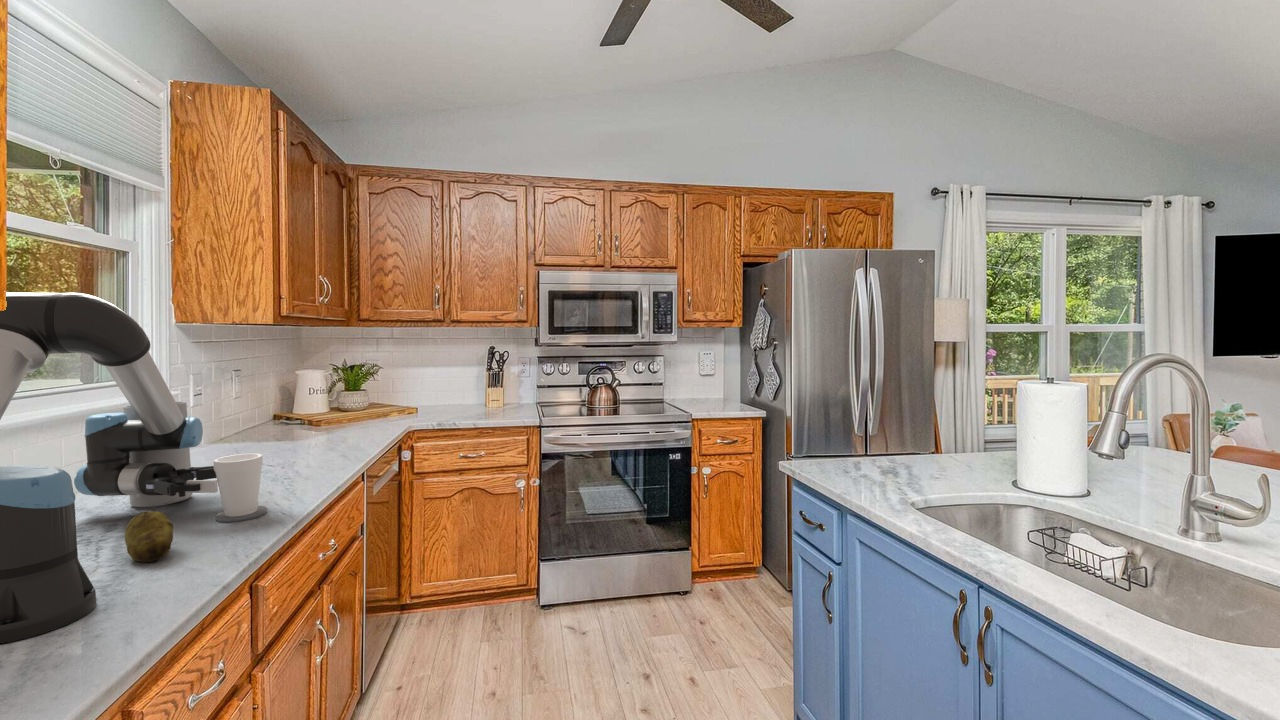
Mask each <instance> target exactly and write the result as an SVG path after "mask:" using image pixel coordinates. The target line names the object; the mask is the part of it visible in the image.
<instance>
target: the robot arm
mask: <svg viewBox="0 0 1280 720" xmlns="http://www.w3.org/2000/svg"><path fill="white" fill-rule="evenodd" d="M5 292H6V301H7V307H6V310H4V311H0V420H1V419H2V417H3V416H4V414H5V412H6V410H7V409H8V406H9V405H10V404H11V401H12V400H13V398H14V396H15V394H16V392H17V391H18V389H19V387H20V385H21V383H22V381H23V379H24V378H25V376H26V374H30V373H33V372H35V371H38V370H39V369H41V368H42V367H43V366H44V364H45V362H46V360H47V359H48V357H49V356H50V355H54V354H56V355H57V354H59V355H60V354H85V355H88V356H90V357H91V359H92V360H93V361H94V362H95V364H97V365H100V366H103V367H105V369H107V371H108V372H109V374H110V376H111V378H112V379H113V380H114V382H115V383H116V385H117V387H118V388H119V390H120V391H121V392H122V394H123V396H124V398H125V399H126V401H127V402H128V404H129V406H131V407H132V408H133V410H134V411H135V413H136V414H137V416H138V417H139V419H140V420H128V418H127V415H126V414H125V413H124V412H107V413H98V414H96V413H95V414H92V415H90V416H87V417H86V419H85V425H84V426H85V427H84V439H85V450H86V459H87V462H86V464H85V465H83V466H82V467H80V468H79V469H78V470H77V472H76V476H75V478H73V481H72V478H71V475H70V474H69V473H68V471H67V470H64V469H62V468H59V467H56V466H49V465H39V464H34V465H33V464H16V465H15V464H14V465H13V464H11V465H5V466H4V465H3V466H0V643H2V644H6V642H7V643H12V642H16V641H19V640H23V639H27V638H32V637H35V636H39V635H43V634H45V633H48V632H50V631H54V630H57V629H60V628H62V627H64V626H66V625H67V626H68V625H69V624H71V623H73V622H76V621H77V620H79V619H81V618H83V617H85V616H86V615H88V614H89V613H91V612H92V611H93V610H94V609H95V608H96V606H97V592H96V589H95V586H94V585H93V583H92V581H91V580H90V579H89V577H88V575H87V573H86V571H85V569H84V567H82V566H83V565H82V564H81V563H80V562H81V561H79V554H78V552H79V551H78V539H77V538H78V536H77V520H76V504H75V502H76V494H75V492H74V487H75V489H76V491H77V492H78V493H80V494H82V495H85V496H97V497H106V496H107V497H109V496H116V497H117V496H130V495H136V497H138V498H139V497H141V496H142V495H168V496H174V495H176V493H179V497H184V496H186V494H185V491H187V493H193V494H197V493H198V494H199V493H201V494H204V493H205V494H206V493H207V494H211V493H212V494H213V493H214V494H215V493H218V491H219V486H218V482H217V477H216V473H215V471H214V465H207V466H191V468H189V469H178V470H176V469H175V467H174V466H173V465H171V464H169V463H129V458H130V452H139V451H153V450H170V449H182V448H190V449H191V448H195V447H198V446H199V445H200V444H201V442H202V440H203V434H204V430H203V429H204V427H203V423H202V421H201V419H200V418H198V417H194V416H193V417H192V416H191V417H190V416H187V417H184V416H183V414H182V413H181V411H180V409H179V407H178V405H177V403H176V402H177V401H176V400H175V398H174V396H173V395H172V391H170V389H169V387H168V385H167V383H166V381H165V379H164V378H163V376H162V374H161V372H160V370H159V368H158V366H157V365H156V363H155V361H154V359H153V357H152V355H151V354H150V350H151V341H150V339H149V337H148V335H147V334H146V332H145V330H144V329H143V328H142V327H141V325H139V323H138V322H137V321H136V319H134V318H133V317H131V316H130V315H129V314H128V313H126V312H125V311H124V310H122V309H121V308H119V307H118V306H116V305H115V304H113V303H111V302H109V301H107V300H105V299H103V298H100V297H97V296H95V295H91V294H87V293H80V292H21V291H18V292H9V291H5ZM73 482H74V487H73Z"/></svg>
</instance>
